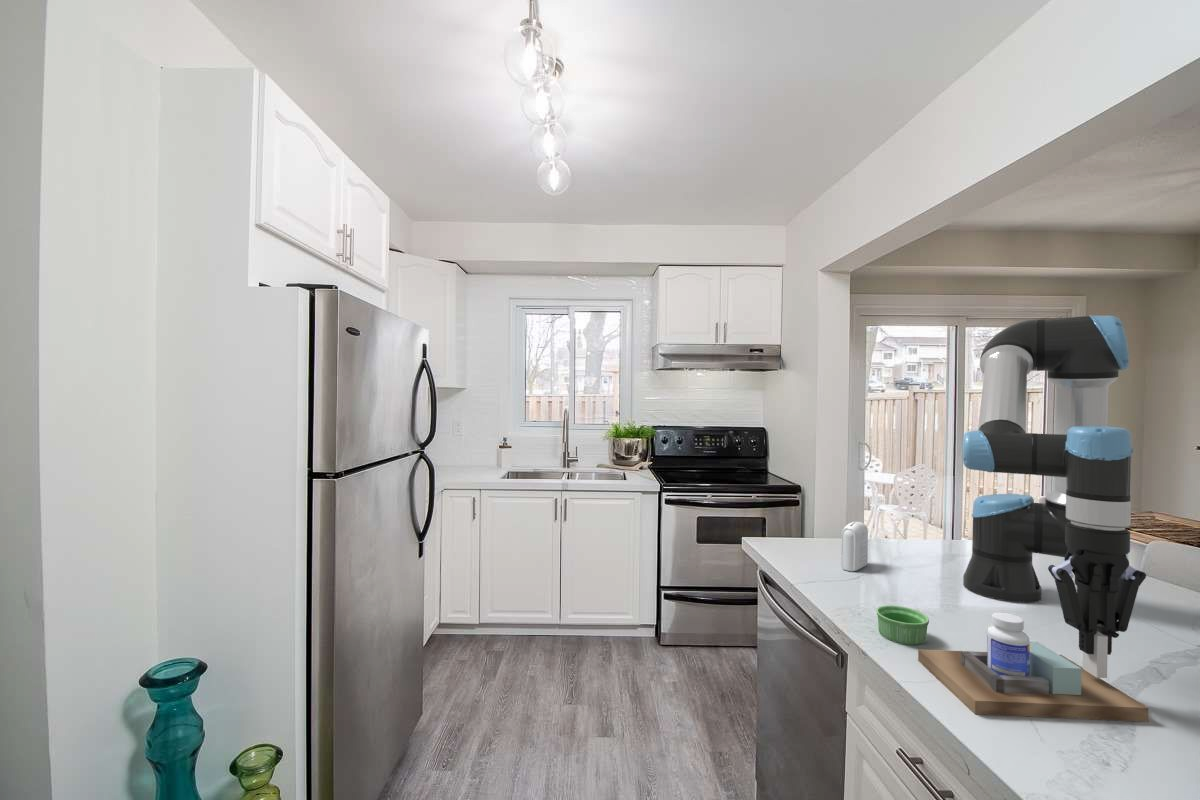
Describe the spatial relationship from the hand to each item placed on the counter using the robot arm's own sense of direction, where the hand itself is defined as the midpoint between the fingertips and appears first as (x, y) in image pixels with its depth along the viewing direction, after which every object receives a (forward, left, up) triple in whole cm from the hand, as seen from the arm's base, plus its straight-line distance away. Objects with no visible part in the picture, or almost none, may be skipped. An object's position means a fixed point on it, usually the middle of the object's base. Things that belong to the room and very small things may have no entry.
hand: (1094, 673), depth 85 cm
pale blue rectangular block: (+8, 0, -1) cm, 8 cm away
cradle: (+10, -1, -3) cm, 11 cm away
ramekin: (+20, -19, -4) cm, 28 cm away
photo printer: (+12, -62, -4) cm, 63 cm away
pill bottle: (+13, 0, -2) cm, 13 cm away
